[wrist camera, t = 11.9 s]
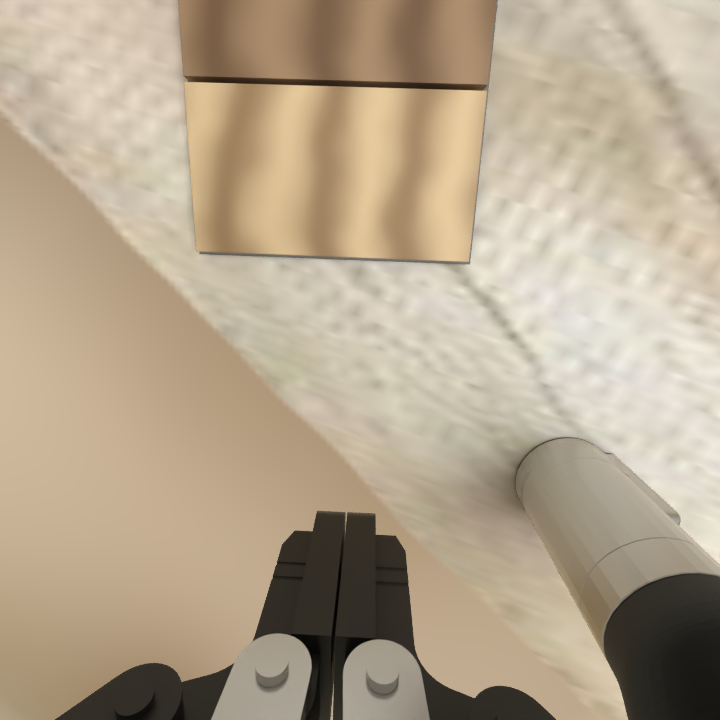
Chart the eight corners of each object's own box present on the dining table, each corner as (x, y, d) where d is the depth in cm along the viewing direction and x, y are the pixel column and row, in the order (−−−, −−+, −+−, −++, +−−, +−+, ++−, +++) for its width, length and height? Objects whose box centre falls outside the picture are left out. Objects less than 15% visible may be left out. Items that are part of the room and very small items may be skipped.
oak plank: (480, 98, 33) (487, 90, 31) (464, 260, 36) (468, 261, 34) (194, 90, 33) (183, 81, 31) (205, 250, 37) (196, 251, 35)
